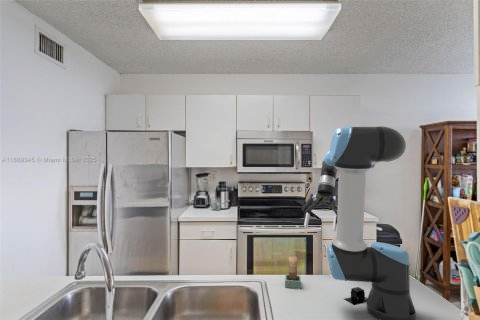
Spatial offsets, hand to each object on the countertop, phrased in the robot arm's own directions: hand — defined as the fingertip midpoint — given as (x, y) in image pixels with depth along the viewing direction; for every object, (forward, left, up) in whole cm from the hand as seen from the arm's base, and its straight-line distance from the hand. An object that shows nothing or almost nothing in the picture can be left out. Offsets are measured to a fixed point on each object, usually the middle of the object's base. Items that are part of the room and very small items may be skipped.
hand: (319, 228), depth 127 cm
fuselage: (-11, +12, -22) cm, 28 cm away
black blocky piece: (-20, -12, -23) cm, 33 cm away
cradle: (-11, +13, -22) cm, 28 cm away
